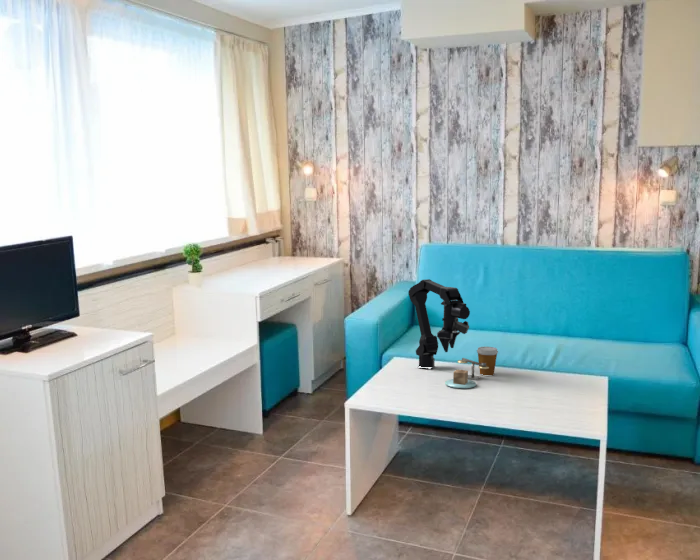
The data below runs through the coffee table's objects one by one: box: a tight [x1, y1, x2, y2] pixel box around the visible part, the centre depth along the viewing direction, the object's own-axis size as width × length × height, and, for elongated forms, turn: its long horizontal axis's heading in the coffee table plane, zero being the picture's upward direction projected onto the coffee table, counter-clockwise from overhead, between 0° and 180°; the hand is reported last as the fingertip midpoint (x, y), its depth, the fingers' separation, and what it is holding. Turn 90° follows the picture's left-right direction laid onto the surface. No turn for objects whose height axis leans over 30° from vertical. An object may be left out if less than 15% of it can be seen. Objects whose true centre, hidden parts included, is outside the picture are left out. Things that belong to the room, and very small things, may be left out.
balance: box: [457, 357, 489, 381], centre depth 298 cm, size 14×5×9 cm, turn 65°
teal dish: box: [445, 378, 477, 389], centre depth 288 cm, size 13×13×1 cm
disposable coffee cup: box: [476, 346, 499, 376], centre depth 305 cm, size 10×10×12 cm
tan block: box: [452, 369, 469, 385], centre depth 287 cm, size 5×5×5 cm
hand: (449, 350), depth 302 cm, fingers open, 9 cm apart
